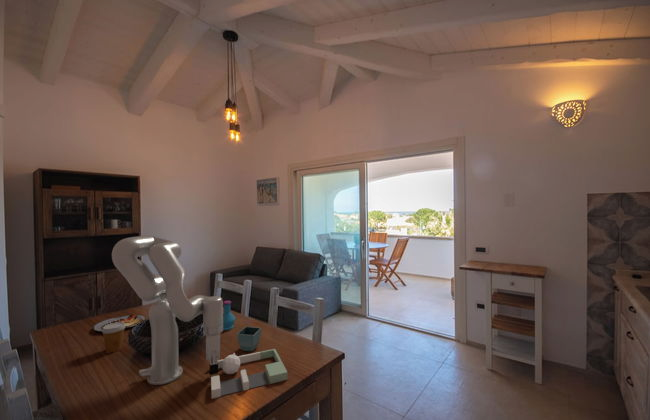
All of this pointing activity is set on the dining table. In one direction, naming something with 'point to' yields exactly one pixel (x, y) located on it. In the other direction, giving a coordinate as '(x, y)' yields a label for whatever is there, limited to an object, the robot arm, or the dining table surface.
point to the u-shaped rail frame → (245, 382)
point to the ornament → (231, 364)
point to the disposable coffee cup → (113, 336)
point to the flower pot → (249, 338)
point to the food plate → (128, 321)
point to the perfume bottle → (227, 316)
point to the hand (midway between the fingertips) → (214, 373)
